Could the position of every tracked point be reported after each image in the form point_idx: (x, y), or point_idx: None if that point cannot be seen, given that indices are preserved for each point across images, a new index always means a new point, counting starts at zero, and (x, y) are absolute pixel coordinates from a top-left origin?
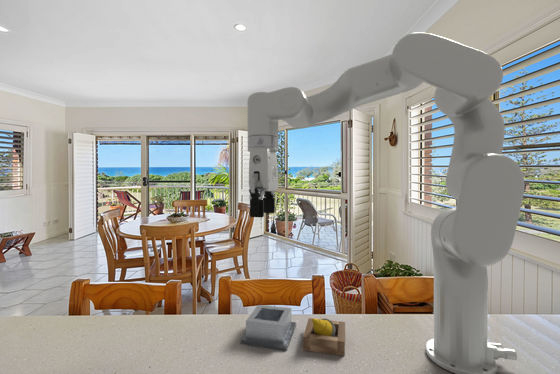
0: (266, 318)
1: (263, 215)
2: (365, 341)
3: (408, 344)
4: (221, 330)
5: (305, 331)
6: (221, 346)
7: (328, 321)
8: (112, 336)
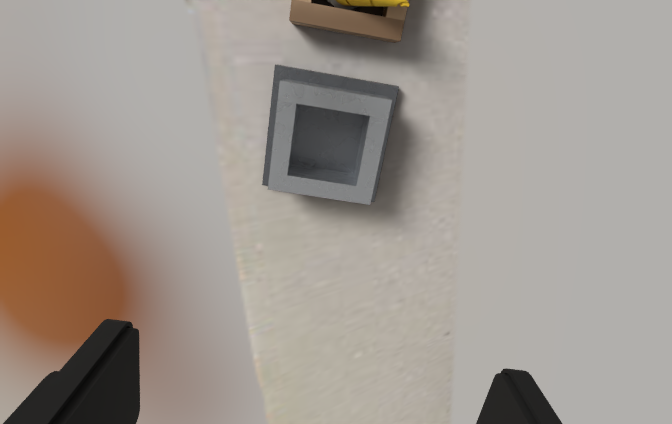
0: (291, 154)
1: (526, 375)
2: None
3: None
4: (317, 253)
5: (373, 33)
6: (383, 236)
7: None
8: None
